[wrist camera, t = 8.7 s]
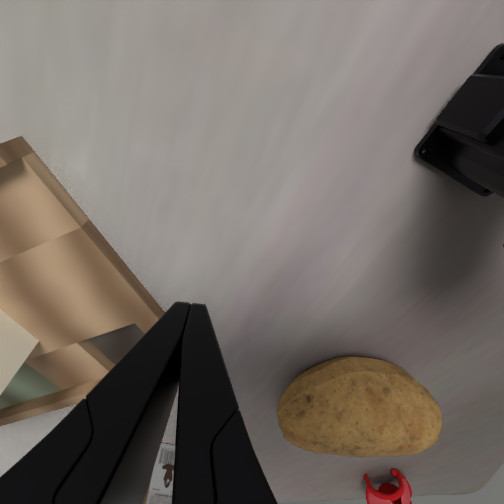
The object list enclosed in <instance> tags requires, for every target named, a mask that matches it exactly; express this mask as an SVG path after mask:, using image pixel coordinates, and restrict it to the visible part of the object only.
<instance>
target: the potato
mask: <svg viewBox="0 0 504 504" xmlns="http://www.w3.org/2000/svg"><path fill="white" fill-rule="evenodd" d="M277 414H278V421H279V426H280V428H281V431H282V433H283V436H284V438H286V439H287V440H288V441H289V442H290V443H292V444H293V445H295V446H297V447H300V448H302V449H305V450H308V451H311V452H314V453H325V454H336V455H344V456H356V457H369V456H402V455H413V454H417V453H420V452H424V451H426V450H427V449H429V448H430V447H431V446H433V445H434V444H435V443H437V441H438V438H439V435H440V431H441V427H442V422H443V420H442V416H441V412H440V407H439V405H438V404H437V402H436V401H435V399H434V398H433V397H432V395H431V394H430V393H429V391H428V390H427V389H426V388H425V387H423V386H422V385H421V384H420V383H419V382H417V381H416V380H415V379H414V378H413V377H411V376H410V375H409V374H408V373H406V372H405V371H404V370H403V369H402V368H400V367H399V366H396V365H394V364H392V363H389V362H387V361H384V360H378V359H372V358H362V357H339V358H335V359H331V360H328V361H325V362H323V363H321V364H319V365H316V366H314V367H312V368H310V369H308V370H306V371H305V372H303V373H302V374H300V375H299V376H298V377H296V378H295V379H294V380H293V381H292V383H291V384H290V385H289V387H288V388H287V389H286V390H285V392H284V393H283V394H282V395H281V397H280V401H279V406H278V410H277Z"/></svg>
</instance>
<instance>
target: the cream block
mask: <svg viewBox="0 0 504 504" xmlns="http://www.w3.org/2000/svg"><path fill="white" fill-rule="evenodd" d="M38 342H39V340H38V339H37V338H35V337H34V336H33V335H32V334H30V333H29V332H28V331H27V330H25V329H24V328H23V327H22V326H21V325H19V324H18V323H17V322H16V321H14V320H13V319H12V318H11V317H10V316H8V315H7V314H6V313H5V312H3V311H2V310H1V309H0V395H1V394H2V392H3V391H4V389H5V388H6V387H7V385H8V384H9V382H10V381H11V380H12V378H13V377H14V375H15V374H16V373H17V371H18V370H19V368H20V367H21V366H22V364H23V363H24V361H25V360H26V359H27V357H28V356H29V354H30V353H31V352H32V350H33V349H34V347H35V346H36V345H37V343H38Z"/></svg>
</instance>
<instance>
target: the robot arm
mask: <svg viewBox="0 0 504 504" xmlns="http://www.w3.org/2000/svg"><path fill="white" fill-rule="evenodd" d="M503 50H504V43H502V44H499V45H497V46H496V47H495V48H494V49H493V50H492V51H491V52H490V54H489V55H488V56H487V58H486V59H485V60H484V61H483V63H482V64H481V65H480V66H479V68H478V69H477V70H476V72H475V73H474V74H473V75H472V76H470V77H469V78H468V79H467V80H466V82H465V83H464V84H463V85H462V87H461V88H460V89H459V90H458V92H457V93H456V94H455V96H454V97H453V98H452V99H451V101H450V102H449V103H448V104H447V106H446V107H445V108H444V110H443V111H442V112H441V113H440V115H439V116H438V117H437V121H436V122H435V124H434V125H433V126H432V127H431V129H430V130H429V131H428V132H427V134H426V135H425V136H424V138H423V139H422V140H421V141H420V143H419V144H418V145H417V147H416V149H415V153H416V155H417V156H418V157H420V158H421V159H423V160H424V161H426V162H428V163H429V164H431V165H433V166H434V167H436V168H437V169H439V170H441V171H442V172H444V173H445V174H447V175H449V176H450V177H452V178H454V179H455V180H457V181H458V182H460V183H462V184H463V185H465V186H466V187H468V188H470V189H471V190H473V191H475V192H476V193H478V194H479V195H481V196H488V195H490V194H492V193H493V192H494V193H496V194H497V195H499V196H501V197H503V198H504V56H503V57H502V58H501V59H500V58H499V57H500V54H501V52H502V51H503ZM427 146H428V149H427V151H426V152H425V153H422V151H423V149H424V148H425V147H427ZM485 188H487V189H485ZM484 189H485V190H484ZM503 247H504V245H503ZM178 385H179V394H178V410H177V426H176V443H175V459H174V475H173V491H172V504H277V501H276V499H275V497H274V495H273V493H272V491H271V488H270V486H269V484H268V482H267V480H266V478H265V475H264V473H263V471H262V468H261V466H260V464H259V461H258V459H257V457H256V454H255V452H254V450H253V447H252V444H251V441H250V439H249V436H248V433H247V430H246V427H245V424H244V421H243V418H242V415H241V412H240V410H239V406H238V403H237V400H236V397H235V394H234V391H233V388H232V384H231V381H230V378H229V375H228V372H227V369H226V366H225V363H224V359H223V356H222V353H221V350H220V347H219V344H218V341H217V338H216V335H215V331H214V328H213V325H212V322H211V319H210V316H209V313H208V310H207V307H206V305H205V304H197V303H193V304H190V303H188V302H175V303H174V304H173V305H172V306H171V307H170V308H169V309H168V310H167V311H166V312H165V314H164V315H163V316H162V317H161V318H160V319H159V320H158V321H157V322H156V323H155V324H154V325H153V326H152V327H151V328H150V329H149V330H148V331H147V332H146V333H145V334H144V335H143V337H142V338H141V339H140V340H139V341H138V342H137V343H136V344H135V345H134V346H133V347H132V348H131V349H130V350H129V351H128V352H127V353H126V354H125V355H124V356H123V357H122V358H121V360H120V361H119V362H118V363H117V364H116V365H115V366H114V367H113V368H112V369H111V370H110V371H109V372H108V373H107V374H106V375H105V376H104V377H103V378H102V379H101V380H100V381H99V383H98V384H97V385H96V386H95V387H94V388H93V389H92V390H91V391H90V392H89V393H88V394H87V395H86V399H85V398H84V399H82V400H81V401H80V402H79V403H78V404H77V405H76V406H75V407H74V408H73V410H72V411H71V412H70V413H69V414H68V415H67V416H66V417H65V418H64V419H63V420H62V421H61V422H60V423H59V424H58V425H57V426H56V427H55V428H54V429H53V430H52V431H51V432H50V433H49V434H48V435H47V436H45V437H44V438H43V439H42V440H41V441H40V442H39V443H38V444H37V445H36V446H35V447H33V448H32V449H31V450H30V451H29V452H28V453H27V454H26V455H25V456H24V457H22V458H21V459H20V460H19V461H18V462H17V463H16V464H15V465H14V466H12V467H11V468H10V469H9V470H8V471H7V472H6V473H4V474H3V475H2V476H1V477H0V504H143V501H144V498H145V495H146V491H147V488H148V485H149V481H150V478H151V475H152V472H153V468H154V465H155V462H156V458H157V455H158V452H159V448H160V445H161V442H162V439H163V435H164V432H165V429H166V425H167V422H168V419H169V416H170V412H171V409H172V406H173V402H174V399H175V396H176V393H177V389H178Z"/></svg>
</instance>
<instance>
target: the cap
mask: <svg viewBox="0 0 504 504" xmlns="http://www.w3.org/2000/svg"><path fill="white" fill-rule="evenodd" d="M391 473H392V474H393V475H394V476H395V477H397V479H398V482H399V487H397V486H395V485H393V484H390V483H386V484H382V485H381V486H380V487H379V489H378V491H377V490H375V489H374V488H373V487H372V485H371V482H370V480H369V478H368V476H367V474H364V479H365V481H366V484H367V486H368V487H366V501H367V504H412V503H411V500H410V498H411V496H412V490H411V487H410V485H409V483H408V481H407V480H406V478H405V477H404V476H403V475H402V474H401V473H400V472H399V471H398V470H395V469H391Z"/></svg>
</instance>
